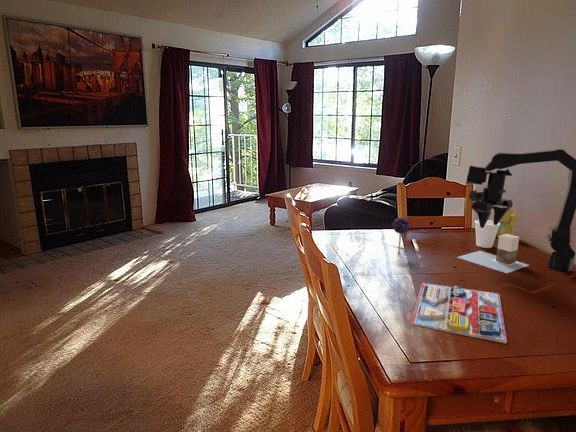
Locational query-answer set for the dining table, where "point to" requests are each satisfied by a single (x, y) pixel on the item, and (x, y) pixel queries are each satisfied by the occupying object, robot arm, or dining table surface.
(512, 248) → the cream block
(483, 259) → the mat
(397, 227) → the lollipop
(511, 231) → the figurine
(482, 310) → the puzzle board
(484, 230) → the cup
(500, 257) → the walnut block
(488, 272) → the dining table surface
